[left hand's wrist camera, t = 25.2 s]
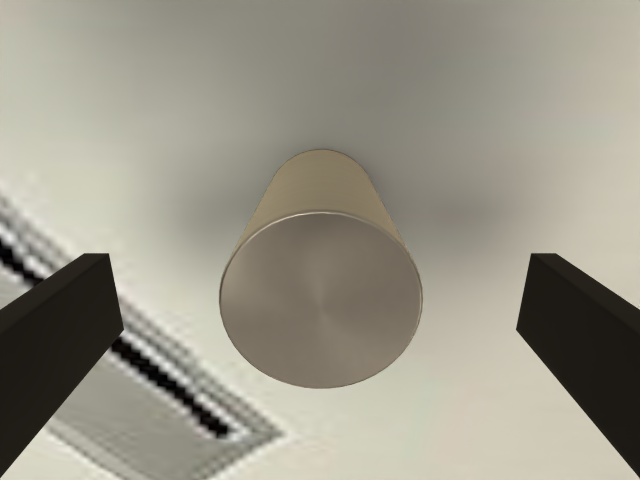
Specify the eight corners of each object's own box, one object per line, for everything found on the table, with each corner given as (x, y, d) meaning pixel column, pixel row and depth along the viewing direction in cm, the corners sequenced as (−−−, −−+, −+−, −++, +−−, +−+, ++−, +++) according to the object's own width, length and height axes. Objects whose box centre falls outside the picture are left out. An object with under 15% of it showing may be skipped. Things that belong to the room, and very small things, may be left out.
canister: (254, 162, 21) (189, 234, 10) (364, 138, 20) (408, 188, 10) (282, 262, 23) (250, 403, 12) (382, 241, 22) (434, 372, 12)
